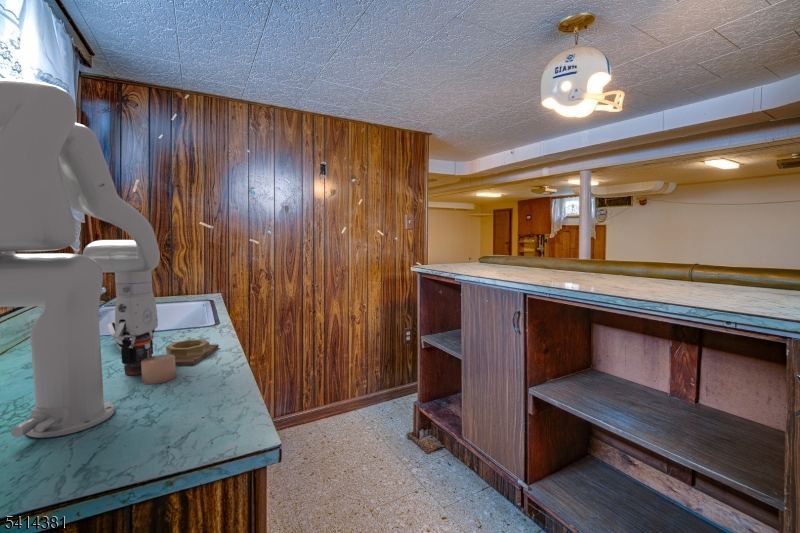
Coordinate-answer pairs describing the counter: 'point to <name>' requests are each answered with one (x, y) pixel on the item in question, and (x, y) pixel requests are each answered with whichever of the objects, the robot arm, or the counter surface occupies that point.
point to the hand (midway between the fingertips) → (138, 358)
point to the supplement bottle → (139, 354)
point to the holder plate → (195, 359)
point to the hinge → (113, 331)
